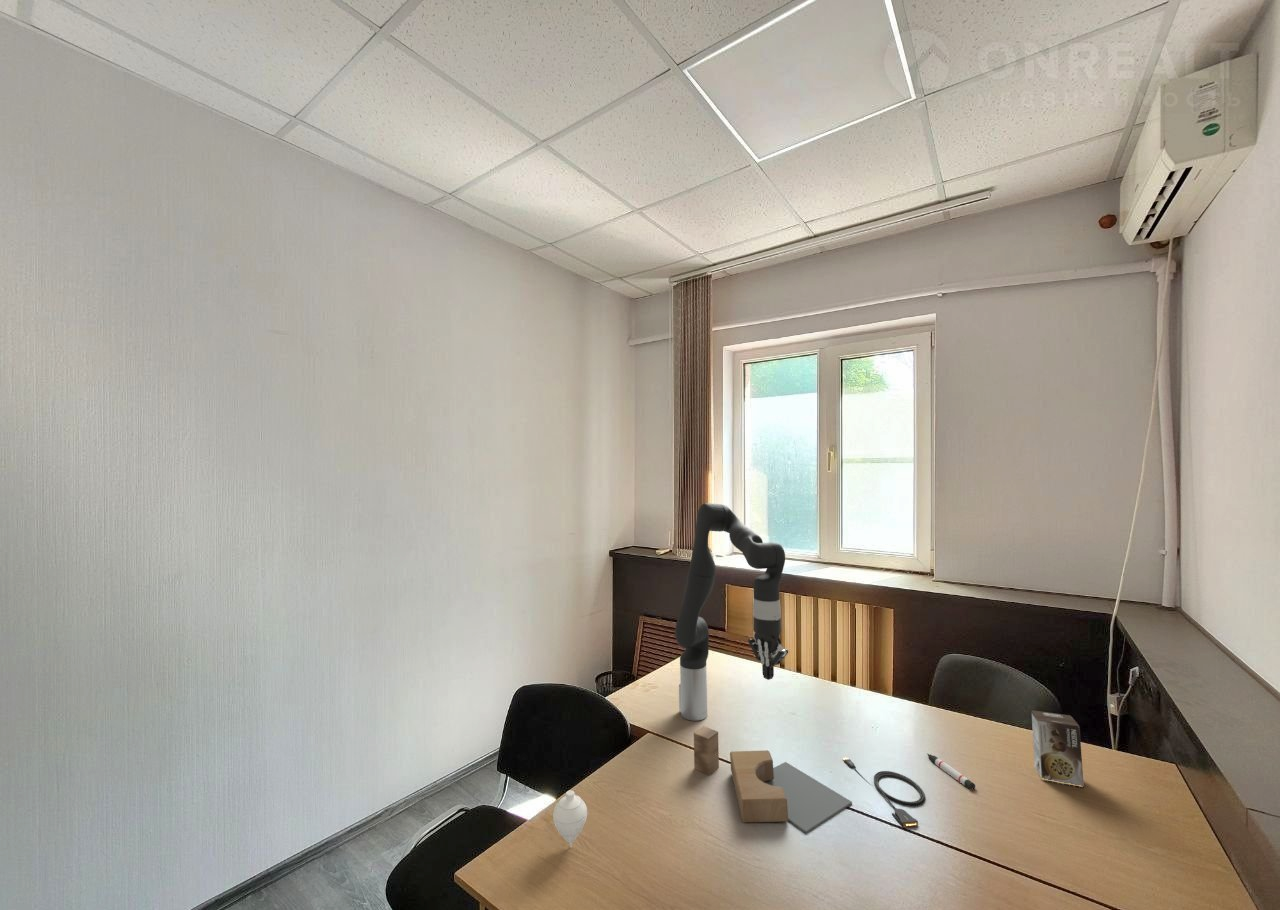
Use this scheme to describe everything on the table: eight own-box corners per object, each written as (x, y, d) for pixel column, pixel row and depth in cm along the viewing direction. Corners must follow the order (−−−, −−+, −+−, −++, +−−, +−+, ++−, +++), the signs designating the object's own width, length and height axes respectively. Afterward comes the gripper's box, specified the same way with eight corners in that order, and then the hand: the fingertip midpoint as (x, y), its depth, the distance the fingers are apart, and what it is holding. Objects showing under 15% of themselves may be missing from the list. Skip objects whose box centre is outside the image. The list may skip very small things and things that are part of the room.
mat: (740, 786, 131) (740, 784, 131) (785, 763, 141) (785, 761, 141) (805, 833, 113) (805, 831, 113) (851, 803, 123) (851, 801, 123)
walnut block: (694, 768, 139) (693, 732, 139) (704, 760, 143) (703, 725, 143) (709, 775, 136) (708, 738, 136) (718, 767, 139) (718, 731, 140)
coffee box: (1075, 775, 133) (1071, 715, 134) (1084, 789, 127) (1081, 726, 128) (1033, 767, 137) (1030, 709, 138) (1040, 780, 131) (1037, 719, 132)
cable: (886, 758, 143) (885, 752, 144) (957, 826, 116) (957, 819, 116) (842, 761, 142) (842, 756, 142) (903, 831, 114) (903, 824, 114)
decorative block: (769, 749, 136) (787, 799, 116) (770, 770, 136) (788, 823, 116) (729, 750, 137) (741, 799, 117) (730, 770, 137) (742, 823, 117)
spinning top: (558, 864, 105) (557, 807, 106) (550, 840, 112) (549, 787, 113) (592, 853, 108) (591, 797, 109) (582, 830, 115) (581, 778, 116)
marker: (975, 790, 128) (975, 782, 128) (969, 791, 128) (968, 783, 128) (930, 757, 143) (929, 750, 143) (924, 758, 143) (924, 751, 143)
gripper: (740, 611, 139) (741, 673, 138) (776, 623, 128) (777, 690, 127) (758, 607, 143) (759, 667, 142) (795, 618, 132) (796, 683, 131)
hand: (768, 678), depth 135 cm, fingers closed
